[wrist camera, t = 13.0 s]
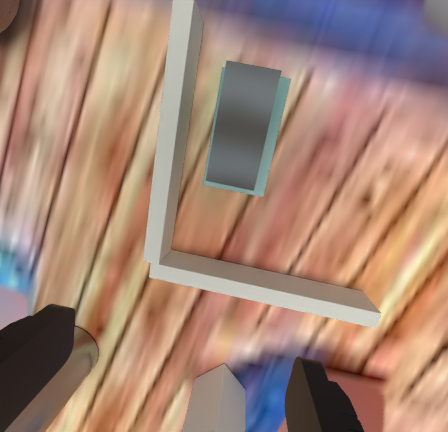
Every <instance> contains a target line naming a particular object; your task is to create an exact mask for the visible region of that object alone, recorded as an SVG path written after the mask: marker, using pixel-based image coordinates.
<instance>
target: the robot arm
mask: <svg viewBox="0 0 448 432" xmlns="http://www.w3.org/2000/svg"><path fill="white" fill-rule="evenodd" d="M97 360H98V348H97V345H96V343H95V341H94V340H93V339H92V337H91V336H90V335H89V334H88V333H87V332H85V331H84V330H82V329H80V328H78V327H76V326H75V310H74V309H73V308H69V307H64V306H60V305H55V304H50V305H48V306H46V307H45V308H43V309H42V310H41V311H39V312H38V313H36V314H35V315H34V316H27V317H25V318H23V319H20V320H18V321H16V322H13V323H11V324H9V325H8V326H6V327H5V328H3V329H2V330H0V432H45V431H46V430H47V429H48V427H49V426H50V425H51V423H52V422H53V421H54V419H55V418H56V417H57V415H58V414H59V413H60V411H61V410H62V409H63V407H64V406H65V405H66V403H67V402H68V401H69V399H70V398H71V397H72V395H73V394H74V392H75V391H76V390H77V388H78V387H79V386H80V385H81V383H82V382H83V380H84V379H85V378H86V376H88V374H89V373H90V371H91V370H92V368H93V367H94V366H95V364H96V362H97ZM285 416H286V422H287V427H288V432H364V430H363V428H362V425H361V423H360V421H359V420H358V419H357V415H356V412H355V410H354V408H353V406H352V403H351V401H350V399H349V398H348V396H347V395H346V394H345V392H344V391H343V390H342V389H341V388H340V386H339V385H338V384H337V383H336V382H333V381H329V380H328V378H327V375H326V373H325V370H324V368H323V365H322V363H321V362H320V361H316V360H312V359H307V358H302V357H297V358H296V359H295V362H294V365H293V369H292V373H291V376H290V380H289V383H288V387H287V390H286V395H285Z"/></svg>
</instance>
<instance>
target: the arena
mask: <svg viewBox="0 0 448 432" xmlns="http://www.w3.org/2000/svg"><path fill="white" fill-rule="evenodd" d="M203 26H204V24H203V21H202V18H201V15H200V12H199V9H198V6H197V4H196V1H195V0H173V6H172V14H171V23H170V32H169V40H168V49H167V58H166V66H165V75H164V84H163V92H162V101H161V110H160V118H159V127H158V136H157V144H156V153H155V162H154V170H153V179H152V188H151V196H150V205H149V214H148V222H147V231H146V240H145V248H144V257H143V261H145V262H150V263H151V266H150V274H149V277H150V278H154V279H159V280H163V281H168V282H172V283H177V284H181V285H186V286H190V287H194V288H199V289H203V290H208V291H212V292H217V293H221V294H226V295H230V296H235V297H239V298H244V299H248V300H253V301H257V302H261V303H266V304H270V305H275V306H279V307H284V308H288V309H293V310H297V311H302V312H306V313H311V314H315V315H320V316H324V317H328V318H333V319H337V320H342V321H346V322H351V323H355V324H360V325H364V326H369V327H373V328H376V326H377V324H378V321H379V319H380V316H381V312H380V311H379V310H378V309H377V308H376V307H375V305H374V304H373V303H372V302H371V301H370V300H369V298H368V297H367V296H366V295H365V294H364V293H363V291H359V290H354V289H350V288H345V287H341V286H336V285H331V284H327V283H322V282H318V281H313V280H308V279H304V278H299V277H294V276H290V275H285V274H281V273H276V272H271V271H267V270H262V269H258V268H253V267H248V266H244V265H239V264H235V263H230V262H225V261H221V260H216V259H212V258H207V257H202V256H198V255H193V254H189V253H184V252H179V251H175V250H171V248H172V241H173V234H174V227H175V220H176V213H177V206H178V199H179V192H180V185H181V179H182V172H183V165H184V158H185V151H186V144H187V137H188V130H189V123H190V116H191V109H192V102H193V95H194V89H195V82H196V75H197V68H198V61H199V54H200V47H201V40H202V33H203Z"/></svg>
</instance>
